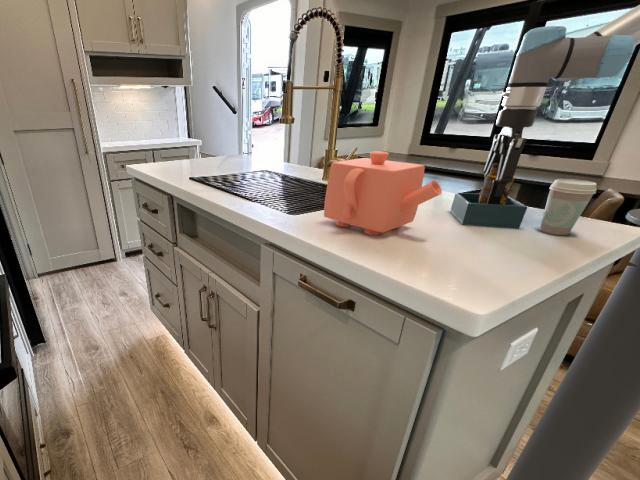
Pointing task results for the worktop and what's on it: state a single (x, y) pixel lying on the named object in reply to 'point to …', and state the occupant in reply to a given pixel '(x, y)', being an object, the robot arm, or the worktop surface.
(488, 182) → the condiment
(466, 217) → the box
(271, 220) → the worktop surface
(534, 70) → the robot arm
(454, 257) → the worktop surface
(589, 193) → the coffee cup
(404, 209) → the teapot
